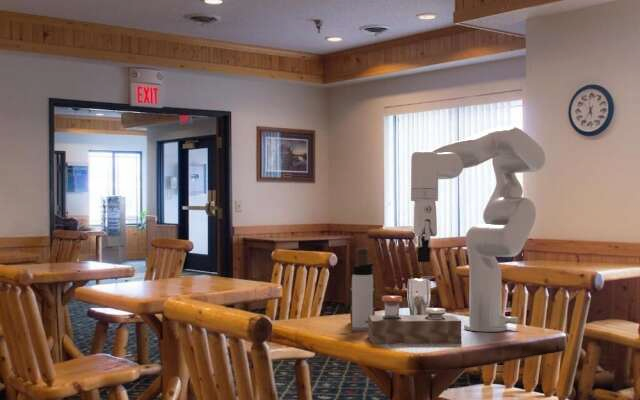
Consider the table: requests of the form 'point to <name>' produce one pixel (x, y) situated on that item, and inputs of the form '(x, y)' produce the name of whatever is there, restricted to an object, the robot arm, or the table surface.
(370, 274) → the travel mug
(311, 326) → the table surface
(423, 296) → the beer glass
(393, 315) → the plug terracotta
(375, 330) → the socket board
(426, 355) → the table surface
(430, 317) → the plug cream
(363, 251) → the beer bottle
